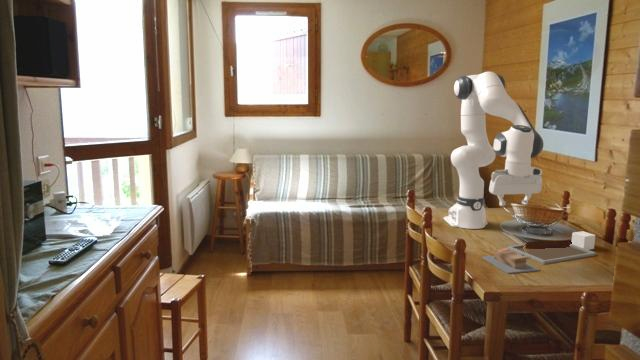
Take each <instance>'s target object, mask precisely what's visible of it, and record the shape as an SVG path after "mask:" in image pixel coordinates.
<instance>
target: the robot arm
mask: <svg viewBox="0 0 640 360" xmlns="http://www.w3.org/2000/svg"><path fill="white" fill-rule="evenodd" d="M453 91H454V95H455V97H456V99H459V100H461V104H460V106H461V107H460V132H461V134H462V135H463V136H464V138H465V139H466V143H467V145H462V146H458V147H457V148H455V149H453V151H451V153H450V154H451V155H450V162H451V165H453V167H455V169H456V171H457V175H458V178H459V179H458V180H459V191H458V192H459V193H458V194H459V195H457V196H456V203H455V204H453V205H452V206H451V207H449V209H448V211H447V212H448V215H446V216H444V217H443V220H444V221H445V222H447V223H448V225H449V226H450V227H454V228H461V229H468V230H469V229H470V230H473V229H474V230H477V229H478V230H480V229H483V228H485V227H486V226H487V225H488V224H489V223H488V221H487V217H486V207H485V206H484V205H485V197H484V195H485V193H484V191H485V190H484V188H485V180H484V179H483V178H482V177H481V175H480V170H479V169H480V168H482V167H487V166H488V165H490V164H492V163H494V161H495V159H496V155H497V156H498V157H503V158H505V161H504V162H505V163H504V169H495V170H494V171H492V173H491V175H490V177H491V178H490V181H489V187H488V191H489V193H490V194H492V195H495V196H497V199H498V201H499V204H498V205H499V206H500V207H505V206H506V203H507V201H505V200H504V197H505V195H525V197H524V198H523V199H521V205H522V206H527V205H528V203H529V200H531V198H532V195H533V194H540V193H541V191H542V190H543V189H542V187H543V177H542V175H543V169H541V168H538V167H536V166H534V165H532V160H531V159H534V158H536V157H538V156H539V155H540V154H541V153H542V151H543V149H544V140H543V138H542V136H541V135H540V133H539V132H538V131H537V130H536V129H535V127H534V126H533V124H532V122H531V121H530V119H529V117H528V116H527V114H526V113H525V110H524V109H523V107H521V105H520V104H519V103H518V102H517V101H515V100H514V99H513V98H511V97H510V95H509V94H508V92H507V91H506V81H505V78H504V77H503V75H501V74H498V73H495V72H493V71H484V72H482V73H479V74H469V75H462V76H459V77H457V78H456V79H455V81H454V85H453ZM487 114H488V115H491V116H493V117H499V118H502V119H505V120H506V121H510V122H511V123H512V124H513V125H511V126H510V128H509V129H508V130H506V131H502V132H499V133H497V134H496V135H495V136H494V137H493V140H492V144H490V141H489V138H488V134H487V126H486V123H487V120H486V115H487Z"/></svg>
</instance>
